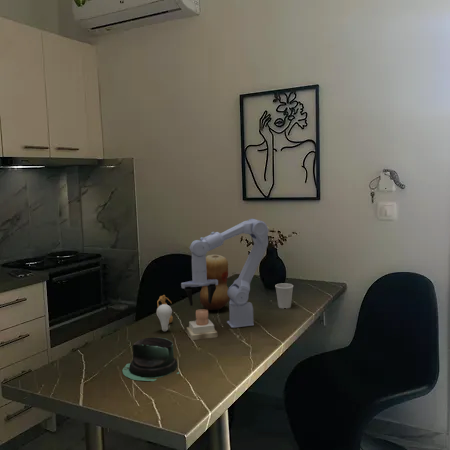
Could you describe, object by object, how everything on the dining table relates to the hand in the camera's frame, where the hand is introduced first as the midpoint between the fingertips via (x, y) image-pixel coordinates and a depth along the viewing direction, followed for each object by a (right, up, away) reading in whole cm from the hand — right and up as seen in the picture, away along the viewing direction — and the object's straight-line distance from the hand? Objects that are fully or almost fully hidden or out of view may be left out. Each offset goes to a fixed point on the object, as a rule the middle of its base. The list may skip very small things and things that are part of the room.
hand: (200, 304), depth 188 cm
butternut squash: (+5, -7, +27) cm, 28 cm away
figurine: (-15, -10, +10) cm, 20 cm away
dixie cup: (+37, -6, +28) cm, 47 cm away
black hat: (-14, -16, -34) cm, 40 cm away
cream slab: (+1, -9, -4) cm, 10 cm away
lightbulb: (-14, -11, 0) cm, 18 cm away
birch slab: (+1, -12, -4) cm, 12 cm away
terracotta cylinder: (+1, -7, -5) cm, 8 cm away
